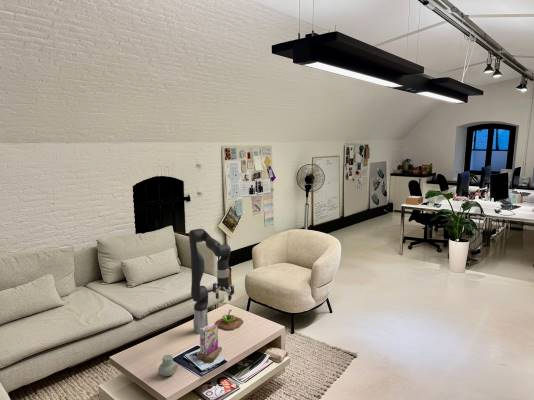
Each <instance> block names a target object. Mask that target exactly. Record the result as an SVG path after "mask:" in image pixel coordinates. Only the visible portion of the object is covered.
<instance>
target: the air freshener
mask: <svg viewBox="0 0 534 400" xmlns="http://www.w3.org/2000/svg"><path fill="white" fill-rule="evenodd" d="M173 357H174V356H173V355H172V354H166V355H164V356H163V357H162V363H161V364H160V365H159V367H158V373H159V374H160V375H162V376H164V377H168V376H169V377H170V376H172V375H174V374H175V373H176V372H177V369H179V368H178V367H179V366H178V364H177V362H176V361H174V358H173Z"/></svg>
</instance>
